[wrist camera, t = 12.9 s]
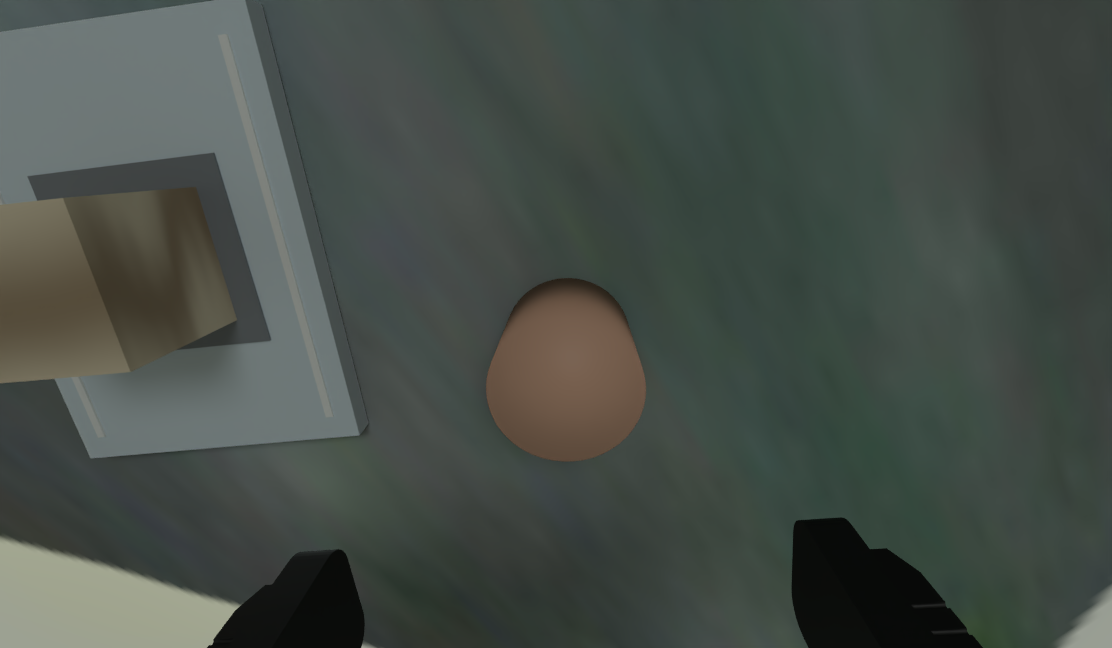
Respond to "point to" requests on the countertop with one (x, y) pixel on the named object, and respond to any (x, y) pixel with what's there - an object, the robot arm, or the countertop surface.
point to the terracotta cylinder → (566, 373)
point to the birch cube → (105, 283)
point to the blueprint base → (229, 207)
